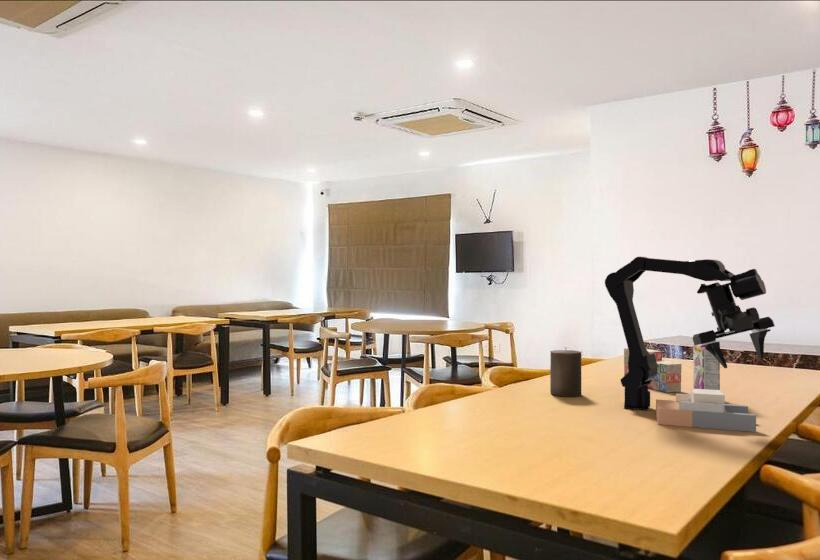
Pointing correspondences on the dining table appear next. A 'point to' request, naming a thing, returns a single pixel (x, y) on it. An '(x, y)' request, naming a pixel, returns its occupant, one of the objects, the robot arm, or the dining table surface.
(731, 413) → the grey piece
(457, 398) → the dining table surface
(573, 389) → the pillar candle
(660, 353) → the stack of blocks
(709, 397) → the cream block
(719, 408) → the channel walls
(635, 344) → the robot arm
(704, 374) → the candy bar box
